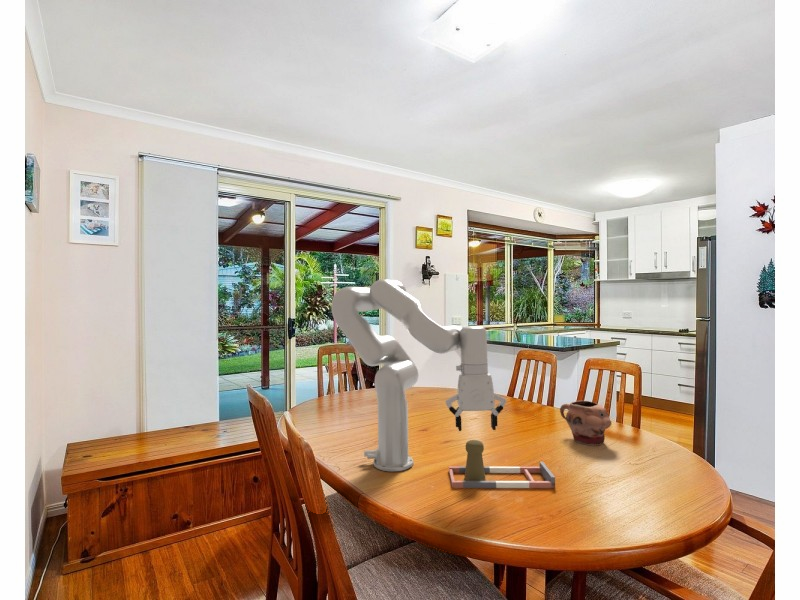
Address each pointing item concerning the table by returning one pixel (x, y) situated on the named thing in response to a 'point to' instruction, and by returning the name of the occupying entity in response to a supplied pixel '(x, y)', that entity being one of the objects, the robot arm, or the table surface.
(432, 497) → the table surface
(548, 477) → the frame
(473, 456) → the cork
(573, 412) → the sculpted ceramic mug
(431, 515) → the table surface
